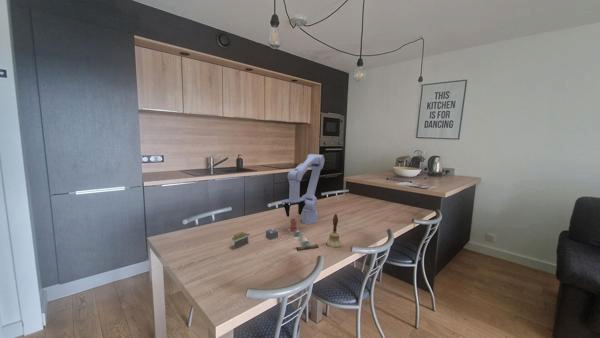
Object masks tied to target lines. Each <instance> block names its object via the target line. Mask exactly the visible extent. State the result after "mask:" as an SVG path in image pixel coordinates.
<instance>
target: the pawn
mask: <svg viewBox="0 0 600 338" xmlns="http://www.w3.org/2000/svg"><path fill="white" fill-rule="evenodd" d="M297 223H298V221H297V219H296V218H291V220H290V228H289V229H290V231H292V232H293V233H296V232H295V231H297V229H298V228H297Z"/></svg>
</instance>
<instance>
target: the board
mask: <svg viewBox="0 0 600 338" xmlns="http://www.w3.org/2000/svg"><path fill="white" fill-rule="evenodd" d="M287 230H288V232H289V233H290V235H292V236H293V238H294V239H295V240H296V241H297V242H298V243H299V245H300V246H299V247H295V249H296V250H297V251H298V252H300V251H306V250H312V249H319V245H318V244H317V243H316V244H313V243H311V242H310V241H309V240H308V238H306V236H304V234H303V233H302V232H301V231H300V230H299V229H298V228H297V231H295V232H292V231H290V228H287Z"/></svg>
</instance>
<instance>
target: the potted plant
mask: <svg viewBox="0 0 600 338" xmlns="http://www.w3.org/2000/svg"><path fill="white" fill-rule="evenodd" d="M249 237H251V233H246V232H243V231H240V232H238V233H235V234H233V237H231V240H232V242H234V249H237V248H239V247H242V246H243V245H246V244H249Z"/></svg>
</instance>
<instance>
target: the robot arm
mask: <svg viewBox="0 0 600 338" xmlns="http://www.w3.org/2000/svg"><path fill="white" fill-rule="evenodd" d="M324 165H325V157H324V154H317V153H316V154H315V153H309V154H307V156H306V160H304V162H302V163H299V164H298V165H297V166H295V168H294V169H291V170H289V171H288V173H287V179H288V183H289V190H288V191H289V193H288V195H289V197H288V198H287V199H282V200H281V204H282V206H283V208H284V211H285V215H286V217H287V218H288V217H290V209H291V205H290V204H296V203H297V207H298V211H297V213H298V214H297V215H300V216H301V223H303V224H306V225H310V224H311V225H312V224H317V223H318V220H319V219H318V218H319V216H318V215H319V214H318V210H317V208H318V207H317V206H318V198H317V197H316V195H315V193H316V190H317V185H318V182H319V178H320V174H321V170H323V169H324V168H323V167H324ZM309 168H310V169H312V170H311V175H310V178H309V182H308V186H307V190H306V193H305V194H303V195H302V196H301V197H300V190H301V189H300V187H301V181H302V179H303V177H304V175H305V174H306V172H307V171H308V169H309Z"/></svg>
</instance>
